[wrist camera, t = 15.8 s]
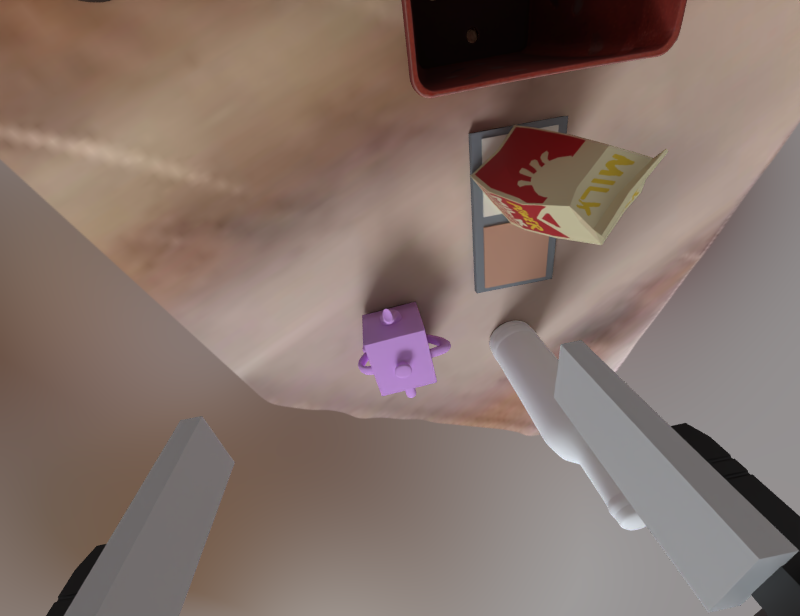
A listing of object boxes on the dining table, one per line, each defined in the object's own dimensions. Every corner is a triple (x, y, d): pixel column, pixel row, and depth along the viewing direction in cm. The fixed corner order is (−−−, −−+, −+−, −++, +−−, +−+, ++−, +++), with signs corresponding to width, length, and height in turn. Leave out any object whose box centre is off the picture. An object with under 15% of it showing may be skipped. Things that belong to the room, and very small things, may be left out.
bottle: (526, 354, 58) (660, 537, 33) (485, 357, 58) (589, 547, 32) (536, 317, 54) (697, 492, 29) (492, 320, 54) (617, 502, 28)
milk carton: (511, 223, 44) (610, 287, 27) (467, 178, 40) (548, 218, 23) (564, 169, 41) (713, 201, 24) (522, 114, 37) (662, 106, 20)
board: (468, 133, 39) (471, 133, 38) (563, 116, 39) (569, 115, 38) (474, 290, 50) (477, 294, 49) (548, 275, 50) (552, 279, 49)
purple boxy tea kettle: (339, 290, 48) (335, 327, 39) (429, 266, 47) (445, 298, 39) (371, 376, 57) (374, 422, 48) (447, 357, 57) (463, 399, 48)
